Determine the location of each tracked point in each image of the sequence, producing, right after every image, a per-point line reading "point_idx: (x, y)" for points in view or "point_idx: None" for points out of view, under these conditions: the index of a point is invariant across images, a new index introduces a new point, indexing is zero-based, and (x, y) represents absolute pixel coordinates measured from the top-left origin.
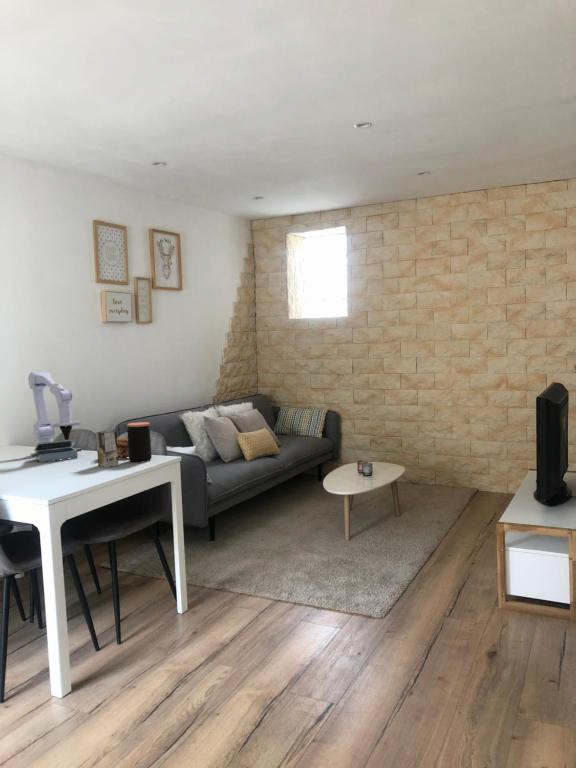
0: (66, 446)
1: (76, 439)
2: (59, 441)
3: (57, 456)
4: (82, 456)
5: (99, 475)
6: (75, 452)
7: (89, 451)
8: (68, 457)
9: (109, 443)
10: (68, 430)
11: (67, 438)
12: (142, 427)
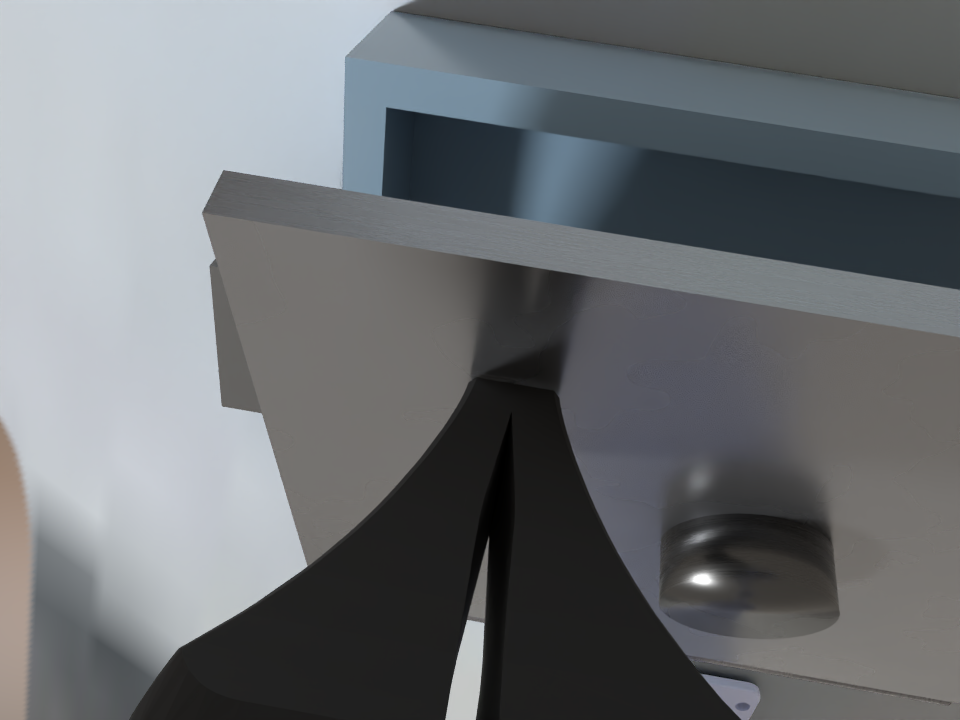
0: None
1: (227, 194)
2: (864, 298)
3: (850, 104)
4: (258, 149)
5: None
6: (403, 51)
7: (89, 503)
8: (588, 50)
9: None
10: (396, 618)
11: (496, 417)
12: None
